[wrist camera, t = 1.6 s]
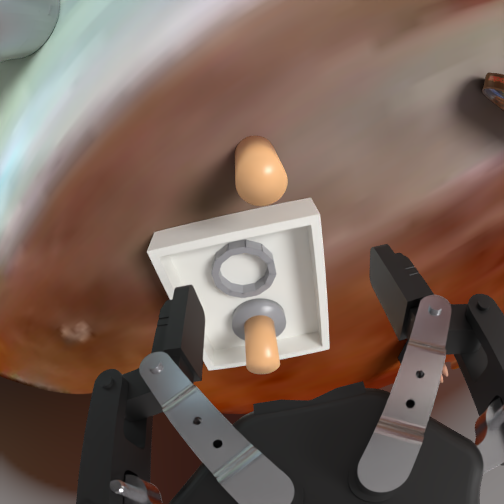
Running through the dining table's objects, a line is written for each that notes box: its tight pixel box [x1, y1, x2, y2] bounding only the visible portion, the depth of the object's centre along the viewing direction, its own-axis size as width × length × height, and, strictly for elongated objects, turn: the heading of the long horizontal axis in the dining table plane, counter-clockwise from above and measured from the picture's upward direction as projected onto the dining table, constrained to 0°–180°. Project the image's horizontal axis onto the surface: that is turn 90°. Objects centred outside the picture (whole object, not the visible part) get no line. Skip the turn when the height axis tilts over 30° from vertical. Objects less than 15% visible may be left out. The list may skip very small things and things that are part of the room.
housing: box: [147, 198, 329, 374], centre depth 36 cm, size 18×22×9 cm
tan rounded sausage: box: [235, 136, 287, 206], centre depth 26 cm, size 4×4×8 cm
